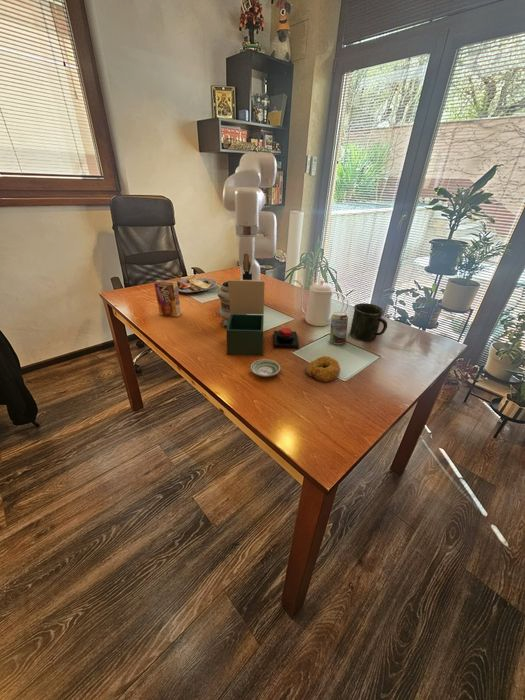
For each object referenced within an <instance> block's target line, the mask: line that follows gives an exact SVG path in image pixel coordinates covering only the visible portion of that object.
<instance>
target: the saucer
mask: <svg viewBox="0 0 525 700" xmlns="http://www.w3.org/2000/svg"><path fill="white" fill-rule="evenodd" d="M281 369H282V368H281V365H280V364H279V363H278V362H277V361H275V360H273V359H268V358H266V359H265V358H262V359H258V360H257V359H256V360H254V361H253V362H252V363H251V364H250V371H251V372H252V373H253V374H254V375H256V376H258V377H261V378H272V377H274V376H276V375H278V374H279V373H280V372H281Z"/></svg>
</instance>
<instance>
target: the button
mask: <svg viewBox="0 0 525 700" xmlns="http://www.w3.org/2000/svg"><path fill="white" fill-rule="evenodd" d="M280 330H281V335H282V336H291V332H292V331H293V330H292V329H291V328H289V327H282V328H281V329H280Z"/></svg>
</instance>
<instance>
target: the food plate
mask: <svg viewBox="0 0 525 700" xmlns="http://www.w3.org/2000/svg"><path fill="white" fill-rule="evenodd" d="M176 281H177V286H178V292H180V293H199V292H203V291H206V290H210V289H213V288H215V287H217V281H216V280H213V279H210V278H205V277H196V276H195V275H194V276H192V277H189V278H183V279H179V280H176Z"/></svg>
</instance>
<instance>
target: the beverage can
mask: <svg viewBox="0 0 525 700" xmlns="http://www.w3.org/2000/svg"><path fill="white" fill-rule="evenodd" d="M330 318H331V319H330V331H329V342H331V344H334V345H343V344H344V343H347V332H348V324H349V323H348V322H349V316H348V314H347V312H345V311H342V312H341V311H336V312H333V313H332V315H331V316H330Z"/></svg>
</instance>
